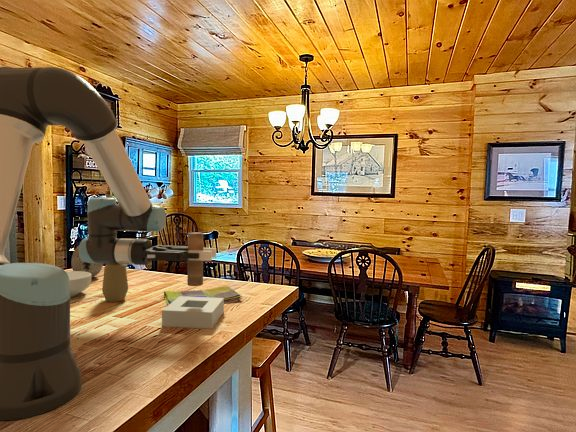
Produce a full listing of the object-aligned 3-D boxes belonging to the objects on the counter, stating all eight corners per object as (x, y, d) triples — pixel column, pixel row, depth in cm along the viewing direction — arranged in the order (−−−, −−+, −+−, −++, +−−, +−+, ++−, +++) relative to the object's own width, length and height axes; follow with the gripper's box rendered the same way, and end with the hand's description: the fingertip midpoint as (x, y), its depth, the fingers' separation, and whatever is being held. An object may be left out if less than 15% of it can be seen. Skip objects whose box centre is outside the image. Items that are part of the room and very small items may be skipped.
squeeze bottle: (118, 304, 120) (118, 249, 119) (96, 302, 122) (96, 248, 121) (133, 297, 128) (133, 246, 127) (112, 295, 130) (112, 245, 129)
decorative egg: (71, 282, 147) (70, 245, 146) (71, 276, 157) (71, 241, 156) (103, 279, 152) (103, 243, 151) (102, 274, 163) (102, 240, 162)
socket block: (211, 328, 101) (212, 312, 101) (161, 326, 102) (161, 310, 102) (223, 312, 115) (223, 298, 115) (179, 310, 116) (179, 296, 116)
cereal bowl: (101, 290, 137) (101, 271, 136) (70, 303, 120) (70, 282, 120) (58, 288, 138) (58, 269, 138) (22, 300, 122) (22, 279, 121)
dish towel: (163, 296, 132) (163, 288, 132) (229, 290, 143) (229, 283, 142) (169, 311, 117) (169, 302, 116) (243, 303, 127) (243, 295, 127)
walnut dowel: (200, 286, 106) (200, 234, 105) (185, 285, 106) (185, 233, 105) (204, 282, 110) (205, 232, 109) (190, 282, 110) (190, 232, 109)
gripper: (148, 259, 117) (220, 261, 116) (120, 270, 100) (205, 273, 99) (148, 235, 117) (221, 237, 116) (120, 243, 100) (205, 245, 98)
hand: (213, 254), depth 107 cm, fingers closed on walnut dowel, 4 cm apart
